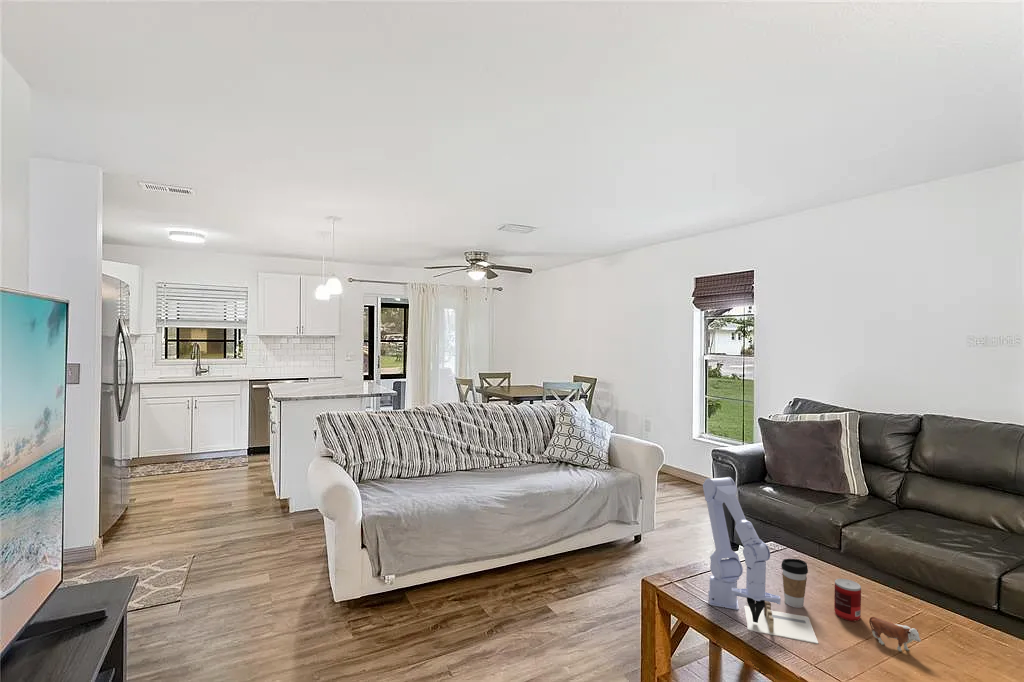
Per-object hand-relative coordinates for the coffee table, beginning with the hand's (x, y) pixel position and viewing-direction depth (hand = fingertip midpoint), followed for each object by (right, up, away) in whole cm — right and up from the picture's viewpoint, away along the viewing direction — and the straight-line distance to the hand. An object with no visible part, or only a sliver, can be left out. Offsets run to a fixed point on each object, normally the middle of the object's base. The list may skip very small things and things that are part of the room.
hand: (755, 620), depth 169 cm
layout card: (+8, -2, +1) cm, 9 cm away
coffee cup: (+21, -2, +14) cm, 25 cm away
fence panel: (+5, -1, 0) cm, 5 cm away
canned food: (+35, -2, +7) cm, 36 cm away
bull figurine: (+38, -2, -11) cm, 40 cm away
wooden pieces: (+8, -1, +8) cm, 11 cm away
